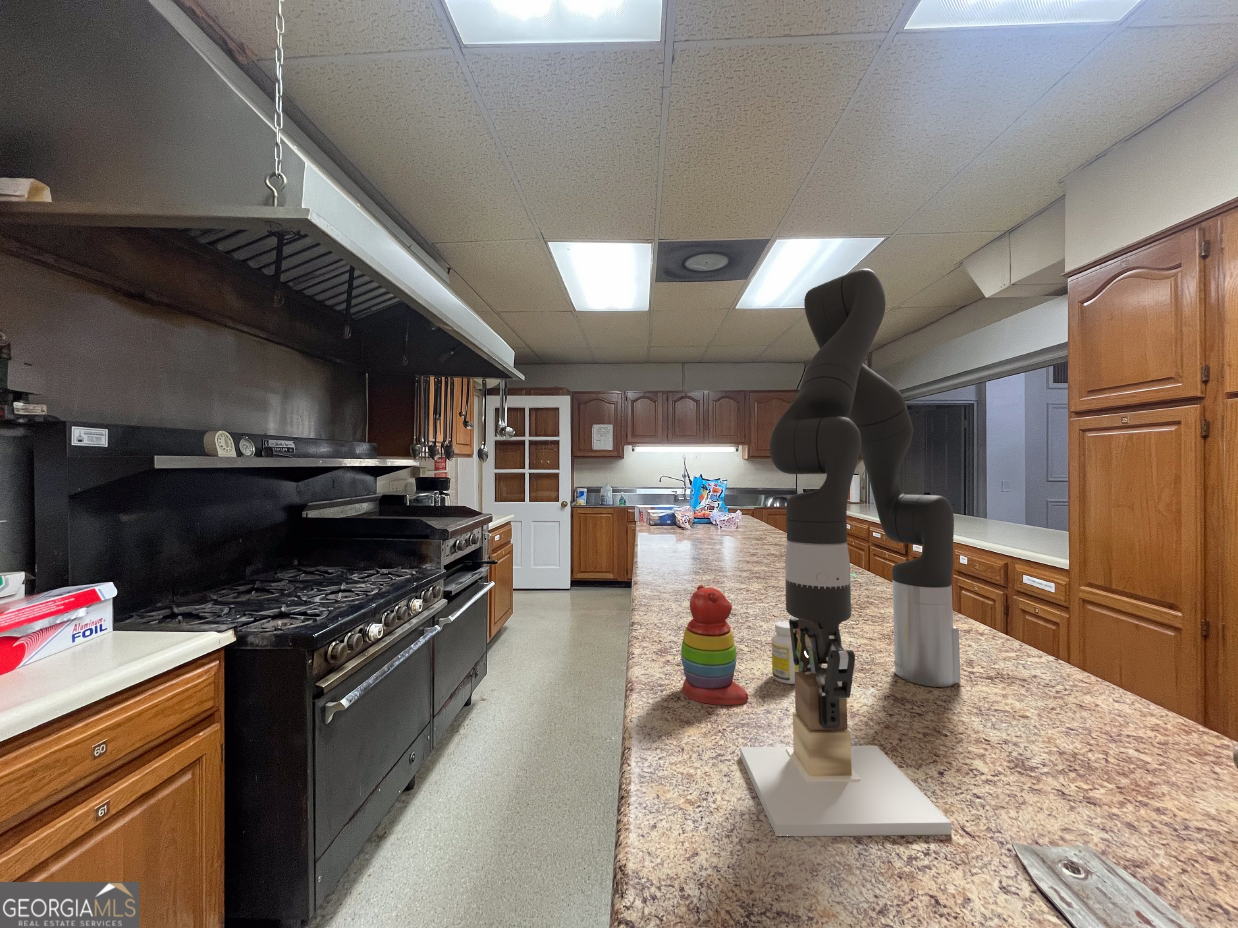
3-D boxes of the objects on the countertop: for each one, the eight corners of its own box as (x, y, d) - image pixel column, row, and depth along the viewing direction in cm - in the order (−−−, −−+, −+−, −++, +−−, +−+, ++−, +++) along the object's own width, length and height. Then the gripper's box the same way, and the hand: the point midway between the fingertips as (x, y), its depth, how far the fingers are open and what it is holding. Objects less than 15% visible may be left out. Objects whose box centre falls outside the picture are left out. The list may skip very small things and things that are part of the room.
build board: (876, 754, 62) (876, 743, 62) (951, 834, 48) (951, 820, 48) (740, 756, 62) (740, 745, 62) (776, 836, 48) (775, 822, 48)
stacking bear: (752, 704, 77) (750, 593, 77) (692, 709, 75) (691, 596, 76) (727, 676, 87) (725, 579, 88) (674, 680, 86) (673, 582, 86)
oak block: (832, 751, 61) (831, 711, 61) (851, 775, 56) (850, 732, 56) (793, 751, 61) (792, 712, 61) (809, 776, 56) (808, 732, 56)
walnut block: (830, 710, 61) (829, 671, 61) (847, 729, 56) (846, 686, 56) (795, 711, 61) (794, 671, 61) (809, 729, 56) (808, 687, 56)
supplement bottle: (798, 672, 89) (797, 620, 89) (807, 685, 83) (806, 629, 84) (769, 672, 89) (768, 619, 90) (776, 684, 84) (774, 628, 84)
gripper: (878, 590, 52) (882, 748, 51) (822, 566, 66) (824, 690, 66) (810, 591, 52) (814, 749, 51) (768, 567, 66) (771, 690, 66)
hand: (820, 715), depth 58 cm, fingers closed on walnut block, 4 cm apart
